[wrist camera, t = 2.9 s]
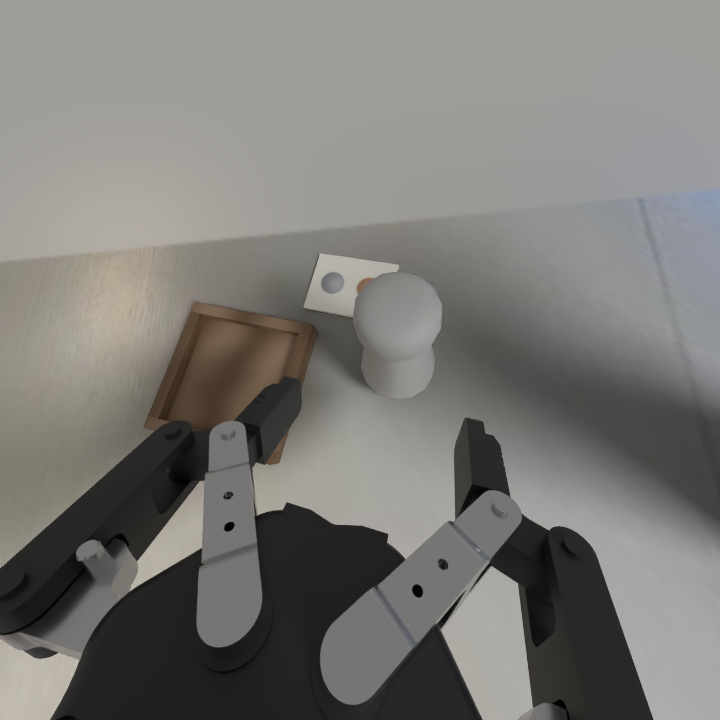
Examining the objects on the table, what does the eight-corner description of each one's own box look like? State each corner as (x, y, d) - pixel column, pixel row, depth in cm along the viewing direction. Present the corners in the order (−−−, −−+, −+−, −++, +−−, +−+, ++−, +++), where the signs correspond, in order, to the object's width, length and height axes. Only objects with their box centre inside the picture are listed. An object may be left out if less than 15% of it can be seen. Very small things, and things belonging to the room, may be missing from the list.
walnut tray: (317, 331, 27) (312, 324, 26) (279, 463, 25) (269, 464, 23) (206, 309, 30) (194, 301, 28) (159, 428, 27) (143, 427, 25)
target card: (399, 266, 28) (399, 263, 28) (385, 323, 27) (385, 321, 26) (320, 255, 29) (319, 252, 29) (304, 308, 28) (302, 306, 28)
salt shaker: (369, 335, 27) (344, 244, 14) (433, 341, 26) (467, 250, 13) (360, 399, 25) (323, 360, 13) (428, 407, 24) (459, 375, 12)
